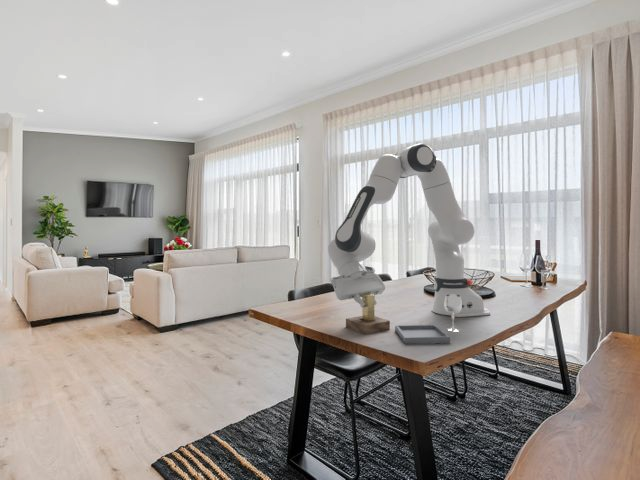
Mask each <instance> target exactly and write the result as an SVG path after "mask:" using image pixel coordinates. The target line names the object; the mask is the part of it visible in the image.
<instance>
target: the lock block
mask: <svg viewBox="0 0 640 480" xmlns="http://www.w3.org/2000/svg"><path fill="white" fill-rule="evenodd" d="M345 327H346V328H348V329H350V330H353V331H356V332H358V333H360V334H363V335H368V334H373V333H378V332H383V331H388V330H390V329H391V328H390V327H391V321H390V320H389V319H385V318H382V317H379V316H376V315H375V320H374V321H369V322H367V321H364V320H363V315H359V316H353V317H348V318H345Z"/></svg>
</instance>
